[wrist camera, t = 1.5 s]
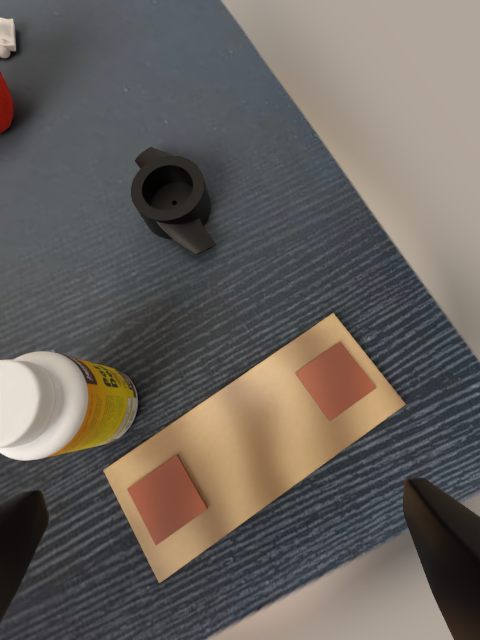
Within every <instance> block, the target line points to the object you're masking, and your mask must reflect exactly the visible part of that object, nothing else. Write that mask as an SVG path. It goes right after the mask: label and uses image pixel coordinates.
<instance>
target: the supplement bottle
mask: <svg viewBox="0 0 480 640" xmlns="http://www.w3.org/2000/svg"><path fill="white" fill-rule="evenodd" d="M137 408H138V396H137V392H136V389H135V386H134V384H133V383H132V381H131V380H130V379H129V377H128V376H126V375H125V374H124V373H122V372H121V371H119V370H117V369H114V368H111V367H107V366H103V365H100V364H96V363H92V362H88V361H84V360H81V359H77V358H73V357H69V356H66V355H62V354H58V353H53V352H47V351H39V352H32V353H28V354H25V355H22V356H19V357H17V358H16V359H14V360H0V453H1V454H3V455H5V456H7V457H9V458H12V459H16V460H35V459H41V458H45V457H50V456H54V455H59V454H63V453H68V452H72V451H77V450H82V449H86V448H90V447H95V446H100V445H104V444H107V443H110V442H113V441H115V440H116V439H118V438H119V437H121V436H122V435H123V434H124V433H125V432H126V431H127V430H128V429H129V427H130V426H131V424H132V423H133V421H134V418H135V416H136V413H137Z"/></svg>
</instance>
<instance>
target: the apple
mask: <svg viewBox="0 0 480 640" xmlns="http://www.w3.org/2000/svg"><path fill="white" fill-rule="evenodd" d="M13 109H14V104H13V100H12V97H11V94H10V91H9V89H8V87H7V84H6V82H5V80H4V78H3V76H2V74H1V72H0V134H1V133H2V132H4V131H5V130H6V129H7V128H9V127H10V124H11V121H12V119H13Z"/></svg>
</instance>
